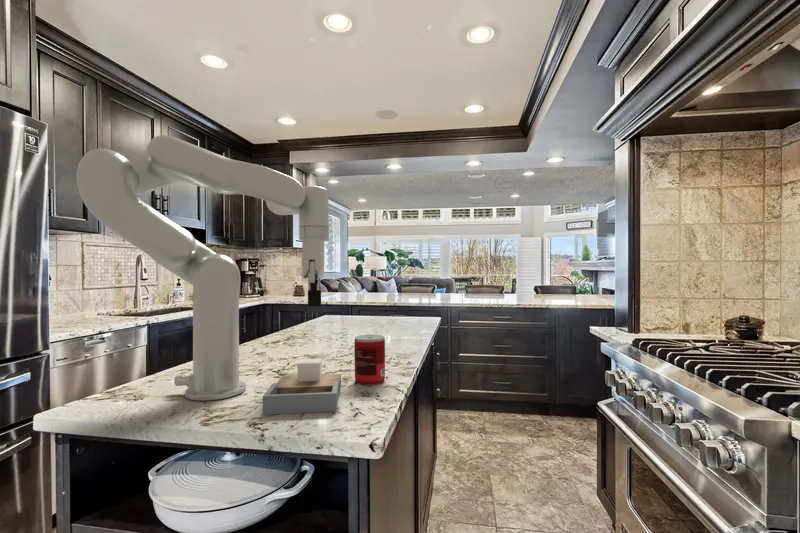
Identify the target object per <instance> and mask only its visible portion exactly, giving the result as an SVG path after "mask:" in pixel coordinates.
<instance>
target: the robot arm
mask: <svg viewBox="0 0 800 533" xmlns="http://www.w3.org/2000/svg"><path fill="white" fill-rule="evenodd" d="M179 182H183V183H184V182H185V183H188V184H190V185H194V186H196V187H200V188H203V189H204V190H208V191H210V192H213V193H216V194H220V195H244V196H248V197H253V198H257V199H260V200H263V201H265V205H266V207H267V208H268V210H269V211H270V212H271V213H273V214H275V215H278V216H288V215H289V216H290V215H291V216H292V215H293V216H294V215H298V241H300V242H302V246H301V266H300V267H301V268H300V271H301V272H300V276H301V278H302V279H307V283H308V284H307V285H308V286H307V288H308V290H307V305H308V307H319V306H320V307H321V305H322V290H321V279H322V278H324V275H325V274H324V273H325V242H328V241H330V239H329V238H330V236H329V234H330V232H329V231H330V229H329V227H330V226H329V225H330V224H329V223H330V222H329V219H330V218H329V216H330V215H329V192H328V190H327V188H325V187H322V186H318V185H307V186H303V185H302V183H300V182H299V181H298V180H297V179H296V178H293V177H292V176H290V175H287V174H286V173H285V174H284V173H282V172H280V171H277V170H275V169H272V168H269V167H267V166H263V165H260V164H256V163H250V162H245V161H241V160H236V159H232V158H228V157H227V156H223V155H221V154H218V153H215V151H214V152H213V151H211V150H208V149H206V148H203V147H200V146H198V145H196V144H193V143H191V142H188V141H186V140H183V139H181V138H177V137H175V136H171V135H166V134H164V135H163V134H162V135H157V136H155V137H153V138H152V139H151V140H150V141H149V142H148V144H147V147H146V150H145V153H143V154H142V153H141V154H139V155H136V156H132V157H128V158H127V157H125V156H124V155H122V154H121V153H119V152H117V151H115V150H112V149H109V148H96V149H92V150H90V151H87V152H86V153H85V154H84V155H83V156H82V158H81V159H80V161H79V163H78V167H77V171H76V185H77V190H78V193H79V195H80V198H81V200H82V202H83V204H84V205H85V207H86V208H87V210H88V211H89V212H90V213H91V215H92V216H93V217H94V218H95V219H96V220H98V222H100V223H101V224H102V225H104V226H105V227H106V228H108V230H110V231H112V232H113V233H115V234H116V235H118V236H119V237H121V238H122V239H124V240H125V241H126V242H128V243H129V244H131V245H132V246H134V247H136V248H137V249H138V250H140V251H142V252H143V253H145V254H146V255H148V256H149V257H150V258H151V259H152V260H153V261H154V262H155V263H157V264H158V265H160V266H161V267H162V268H165V269H166V270H168V271H169V272H171V273H173V274H174V275H176V276H177V277H178V278H180V279H182V280H184V281H185V282H186V283H189V284H190V285H192V373H190V374H189V375H184V374H181V375H180V374H179V375H175V376H174V380H173V382H174V384H175V387H177V386H179V387H182V386H186V387H187V389H186V390H184V397H185V398H186V399H188V400H192V401H202V402H203V401H215V400H216V401H217V400H223V399H228V398H231V397H235V396H238V395H240V394H242V393H244V392H245V391H246V389H247V383H246V382H244V381H241V380H240V338H239V337H240V292H241V273H240V269H239V266H238V264H237V263H236V261H234V259H232V258H231V257H229V256H228V255H225V254H221V253H216V252H215V251H214V250H211V249H210V248H209V247H208V246H206V245H204V244H203V243H202V242H200V241H199V240H197V239H196V238H195V237H194V234H192V233H191V232H190V231H189V230H187V229H186V228H184V227H183V226H181V225H179V224H177V223H176V222H174V221H173V220H171V219H169V218H168V217H167V216H164V215H163V214H162V213H161V212H159V211H158V210H156V209H155V208H153V207H152V205H150V204H148V203H146V202H145V201H144V200H142V199H141V198H140V197H139V196H142V195H145V194H147V193H151V192H153V191H156V190H160V189H163V188H167V187H168V186H171V185H174V184H176V183H179Z"/></svg>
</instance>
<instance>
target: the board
mask: <svg viewBox="0 0 800 533" xmlns="http://www.w3.org/2000/svg"><path fill="white" fill-rule="evenodd" d="M334 381H339V394H340V392H341V384H342V374H341V373H330V374H322V376H321V379H320V381H299V382H298V374H297V375H282V376H281V377H280V378H279V380H277V382H276V383H278V394H296V393H321V392H332V389H333V384H334Z"/></svg>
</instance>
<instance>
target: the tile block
mask: <svg viewBox="0 0 800 533" xmlns="http://www.w3.org/2000/svg"><path fill="white" fill-rule="evenodd" d="M296 367H297V375H298V382H299V381H320V379H321V376H322V375H323V358H321V357H320V358H301V359H299V361H298V363H297V366H296Z"/></svg>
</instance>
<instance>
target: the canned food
mask: <svg viewBox="0 0 800 533" xmlns="http://www.w3.org/2000/svg"><path fill="white" fill-rule="evenodd" d="M353 344H354V380H355V382H356V383H357V384H359V385H364V386H371V385H373V384H374V385H378V384H379V385H380V384H382V383H384V381H385V379H386V339H385V335H380V334H361V335H356V336H354V343H353ZM374 385H373V386H374Z"/></svg>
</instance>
